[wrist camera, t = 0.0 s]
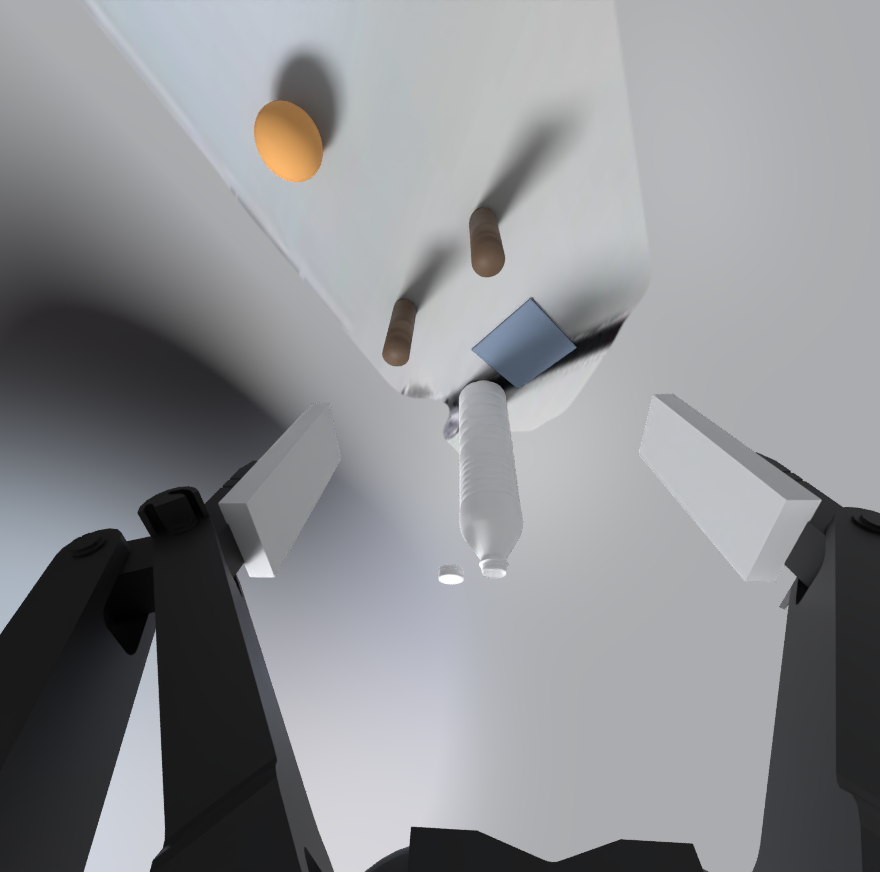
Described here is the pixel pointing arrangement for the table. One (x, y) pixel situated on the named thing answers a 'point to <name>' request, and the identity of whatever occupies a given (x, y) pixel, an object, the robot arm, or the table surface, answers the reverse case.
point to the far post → (400, 333)
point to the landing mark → (524, 345)
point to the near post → (485, 243)
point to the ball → (288, 141)
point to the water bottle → (486, 481)
